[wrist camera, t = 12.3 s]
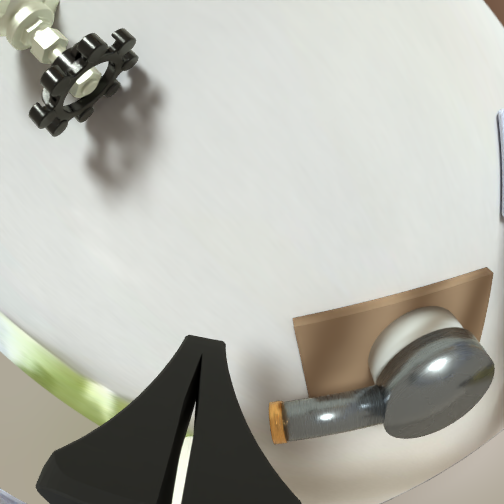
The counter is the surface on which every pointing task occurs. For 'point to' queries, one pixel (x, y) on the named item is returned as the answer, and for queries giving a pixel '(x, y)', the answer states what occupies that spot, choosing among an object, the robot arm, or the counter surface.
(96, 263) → the counter surface
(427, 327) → the thin wooden panel
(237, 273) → the counter surface
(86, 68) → the valve
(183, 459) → the pepper shaker
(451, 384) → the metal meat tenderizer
